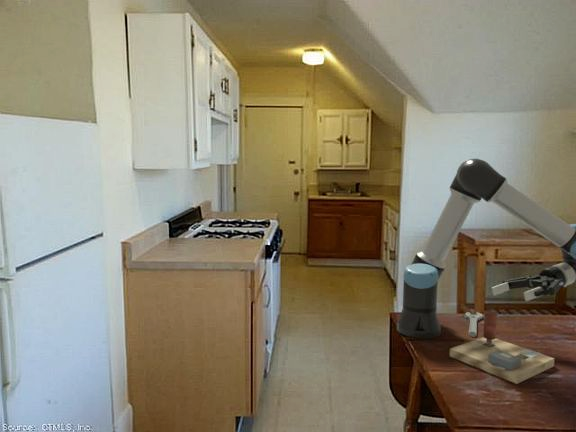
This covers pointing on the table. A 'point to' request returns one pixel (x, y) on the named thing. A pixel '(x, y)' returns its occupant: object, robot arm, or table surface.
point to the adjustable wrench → (473, 322)
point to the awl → (490, 327)
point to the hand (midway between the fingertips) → (508, 294)
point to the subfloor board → (479, 352)
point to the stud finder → (504, 360)
